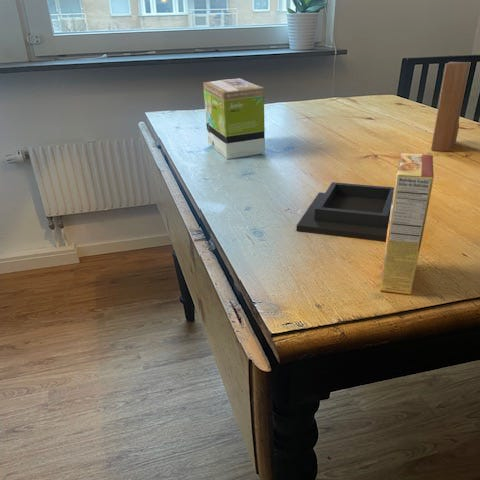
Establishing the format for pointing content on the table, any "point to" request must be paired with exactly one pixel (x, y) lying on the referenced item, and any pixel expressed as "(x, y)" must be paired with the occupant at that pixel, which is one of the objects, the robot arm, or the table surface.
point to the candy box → (406, 221)
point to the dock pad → (350, 212)
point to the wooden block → (450, 106)
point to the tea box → (235, 117)
